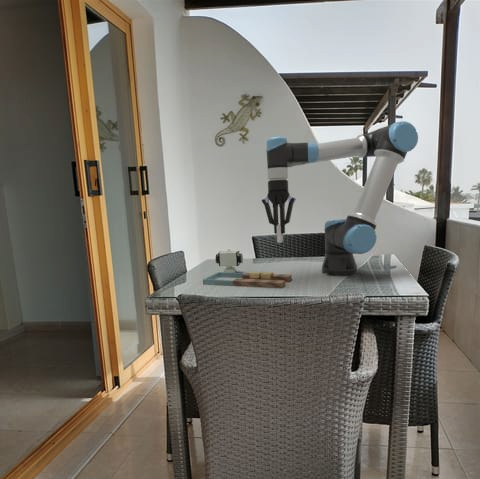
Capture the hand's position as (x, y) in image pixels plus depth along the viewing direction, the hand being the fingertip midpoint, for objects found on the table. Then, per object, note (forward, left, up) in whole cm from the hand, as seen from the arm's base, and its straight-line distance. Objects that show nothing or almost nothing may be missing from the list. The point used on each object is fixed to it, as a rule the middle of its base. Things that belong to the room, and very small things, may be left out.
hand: (280, 242), depth 136 cm
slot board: (+8, 0, -17) cm, 19 cm away
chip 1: (+10, 0, -16) cm, 19 cm away
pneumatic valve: (+29, -15, -17) cm, 37 cm away
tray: (+24, 0, -17) cm, 30 cm away
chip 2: (+6, 0, -16) cm, 17 cm away
